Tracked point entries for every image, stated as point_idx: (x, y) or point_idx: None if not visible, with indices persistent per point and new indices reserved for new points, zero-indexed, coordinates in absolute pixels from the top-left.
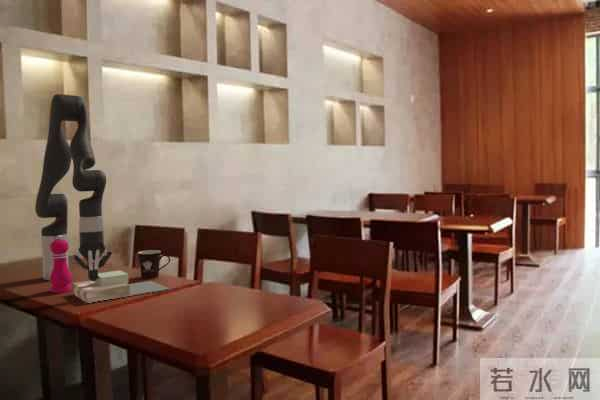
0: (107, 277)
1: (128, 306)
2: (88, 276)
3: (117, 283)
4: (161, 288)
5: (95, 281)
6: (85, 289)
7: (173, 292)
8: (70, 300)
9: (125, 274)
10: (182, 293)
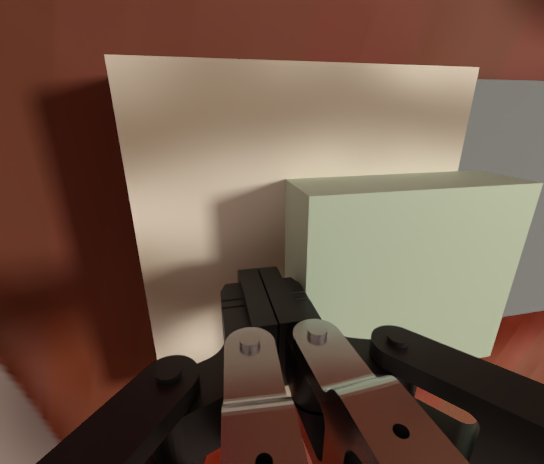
0: None
1: (308, 454)
2: (221, 304)
3: None
4: (532, 292)
5: (289, 207)
6: None
7: (523, 344)
8: (92, 242)
9: None
10: (529, 371)
